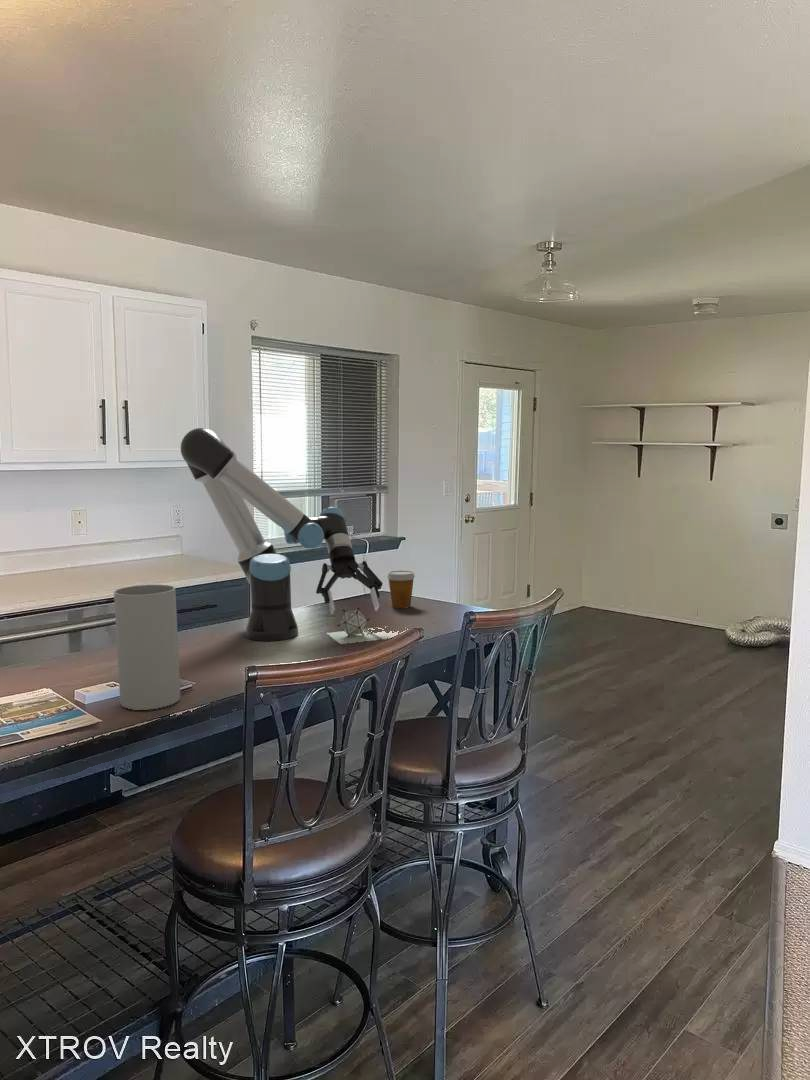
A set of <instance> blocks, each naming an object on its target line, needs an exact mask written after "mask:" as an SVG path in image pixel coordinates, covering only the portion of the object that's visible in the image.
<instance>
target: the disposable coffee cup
mask: <svg viewBox="0 0 810 1080" xmlns="http://www.w3.org/2000/svg"><path fill="white" fill-rule="evenodd" d="M415 576H416V575H415V573H414V571H412V570H392V571H391V570H390V571H389V572H388V575H387V576H386V578H387V580H388V585H389V593H390V599H391V607H392V608H393V607H395V608H394V609H399V608H401V609H407V608H406V607H409V608H410V607H411V603H412V597H413V587H414V586H413V585H414V579H415Z"/></svg>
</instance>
